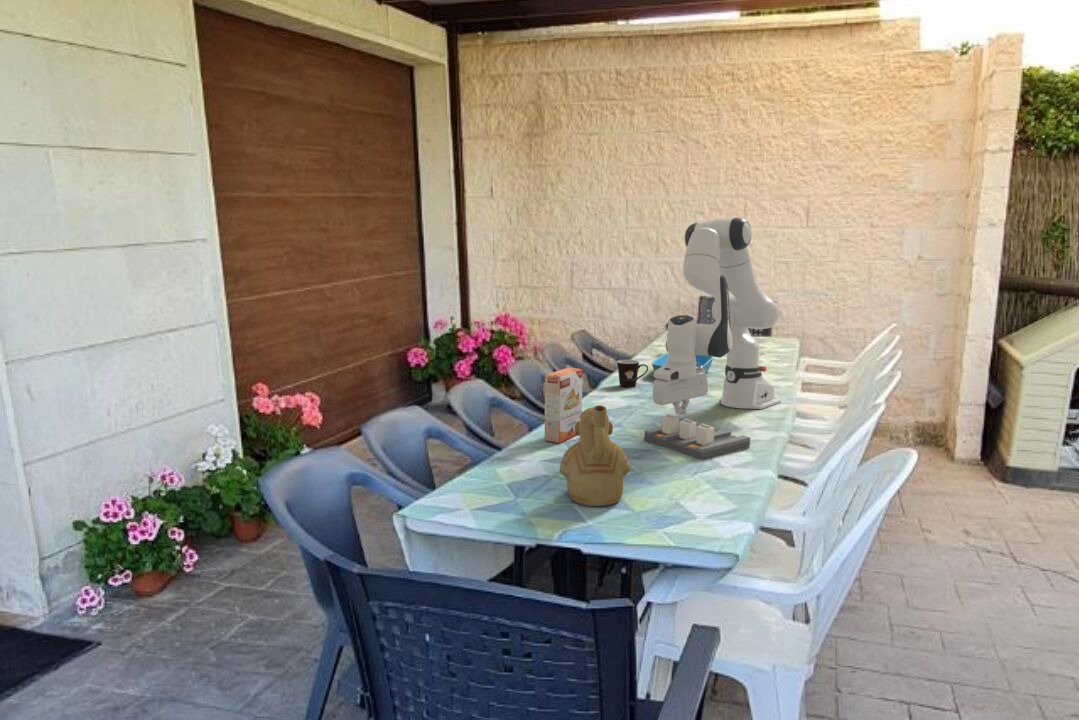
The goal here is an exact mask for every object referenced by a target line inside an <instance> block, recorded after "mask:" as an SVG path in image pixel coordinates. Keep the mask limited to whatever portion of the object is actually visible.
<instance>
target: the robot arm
mask: <svg viewBox="0 0 1079 720" xmlns="http://www.w3.org/2000/svg"><path fill="white" fill-rule="evenodd" d="M751 241H752V229H751V224H750V223H749V221H747V220H746V219H745V218H742V217H733V218H716V219H711V220H707V221H702V222H699V221H698V222H694V223H692V224H690V225H689V226H688V227H687V228H686V230H685V233H684V244H685V247H686V249H685V254H684V259H683V265H682V267H683V269H682V275H683V277H684V279H685V281H686V282H687V283H688V284H689V285H690V286H691V287H693V288H695V289H696V290H698V291H700V292H704V293H706V294H708V295H710V296H711V297H713V298H714V301H713V304H712V305H711V306H712V307H711V315H712V319H714V321H715V322H714V323H712V324H710V323H706V324H705V323H696V322H695V319H694V317H693V316H691V315H684V314H682V315H676V316H673V317H671V318H669V320H668V325H667V331H666V340H667V350H668V356H667V364H664V365H663V366H662V367H660V368H659V369H657V370H656V371H654V370H653V378H655V380H654V382H653V383H652V384H653V385H652V401H653V403H654V404H656V405H660V406H664V405H665V406H667V405H669V404H672V405H673V407H674V409H675V412H674V413H675V415H677V416H681V415H685V414H687V408H688V406H689V404H690V399H695V398H700V397H704V396H707V394H708V391H709V385H708V383H709V382H708V378H707V372H706V369H705V368H704V367H702V366H698V367H696V357H695V355H708V356H712V357H713V358H719V359H720V358H723V357H725V355H726V365H725V368H724V374H725V378H724V381H723V388H722V395H721V396H720V399H719V400H720V404H721V405H723V406H724V407H728V408H732V409H733V408H735V409H754V410H763V409H766V408H769V407H771V406H775V405H776V404H780V403H781V402H782V400H781V398H779V397H776V396H775V388H774V385H773V384H772V383H770V382H769V381H768V380H767V379H766V378H765V377H764V376H763V373H765V372H767V366H765V365H764V366H763V365H760V364H759V363H760V362H759V360H760V345H759V342H758V341H757V340H756V339H755V338H754V337H753V336H752V335H751V333H750V330H749V329H752V330H753V329H755V330H765V329H771V328H773V327H774V326H775V325H776V323H777V322H778V320H779V317H780V310H779V306H778V305H777V303H776V302H775V301H773V300H772V299H771V298H769V297H768V296H767V294H766V293H765V292H764V291H763V290H762V288H761V286H760V285H759V282H758V280H757V279H756V276H755V272H754V268H753V265H752V264H753V263H752V259H751V255H750V250H749V247H748V246H749V245H750V244H751ZM667 350H666V351H667ZM762 372H763V373H762Z"/></svg>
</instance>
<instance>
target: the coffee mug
mask: <svg viewBox="0 0 1079 720" xmlns="http://www.w3.org/2000/svg"><path fill="white" fill-rule="evenodd" d="M616 363H617V371H618V372H617V373H618V380H619V381H618V383H619V387H620V388H623V387H624V388H625V389H629V388H628V387H633V388H636V387H637V381H638V380H639V379H640V378H642V377H643V376H645V375H646V374H647V372H648V371H649V367H648V365H647V364H645V363H642V364H640V361H639V360H636V359H620V360H617V362H616ZM642 366H644V367H645V368H646V370H645V371H644V372H643V373H642V374H640V375H639V376H638V374H639V373H638V372H639V369H640V368H641V367H642ZM635 386H636V387H635Z"/></svg>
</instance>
